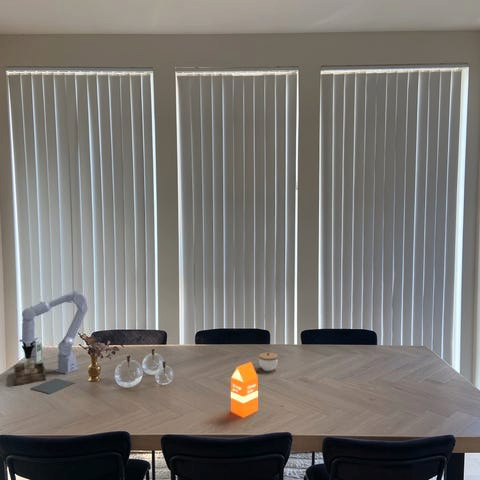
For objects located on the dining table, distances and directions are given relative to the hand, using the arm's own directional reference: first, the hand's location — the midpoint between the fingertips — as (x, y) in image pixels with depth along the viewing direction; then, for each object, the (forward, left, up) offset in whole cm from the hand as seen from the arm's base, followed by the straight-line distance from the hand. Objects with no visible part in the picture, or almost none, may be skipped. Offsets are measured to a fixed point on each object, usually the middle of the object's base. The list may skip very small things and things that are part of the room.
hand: (28, 356), depth 201 cm
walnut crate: (-1, 0, -11) cm, 11 cm away
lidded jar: (-112, -64, -11) cm, 130 cm away
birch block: (-1, 0, -8) cm, 8 cm away
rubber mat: (-23, +3, -11) cm, 26 cm away
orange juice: (-121, -14, -11) cm, 122 cm away
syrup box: (+16, -15, -11) cm, 24 cm away
